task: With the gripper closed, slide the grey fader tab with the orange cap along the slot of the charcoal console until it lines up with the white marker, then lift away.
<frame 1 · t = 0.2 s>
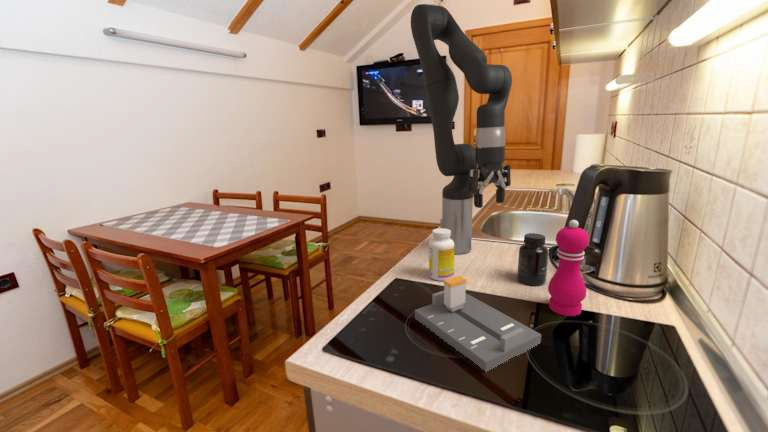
hand: (489, 204, 97), 17 cm above the cooktop, tool pointing down, fingers open, 8 cm apart
supplement bottle: (531, 281, 90), on the cooktop
fader knob: (454, 293, 73), point 6 cm above the cooktop, slide at -5.5 cm
pepper mill: (564, 309, 76), on the cooktop
fader console: (473, 330, 70), on the cooktop
supplement bottle 2: (441, 277, 94), on the cooktop
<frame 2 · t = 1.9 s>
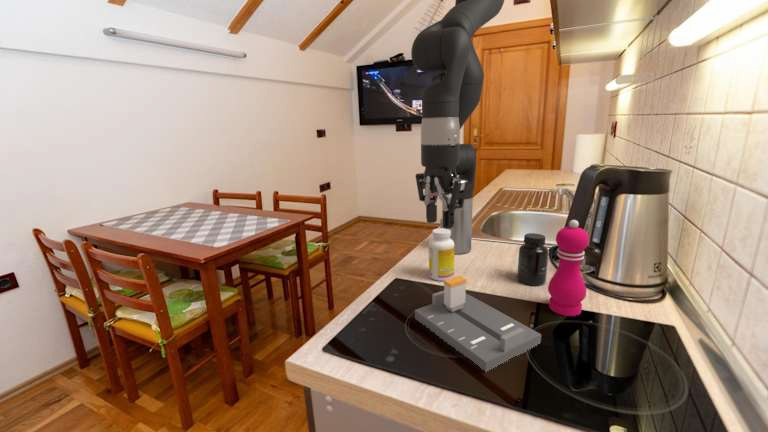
hand: (439, 224, 74), 19 cm above the cooktop, tool pointing down, fingers open, 4 cm apart
nothing on the cooktop moved.
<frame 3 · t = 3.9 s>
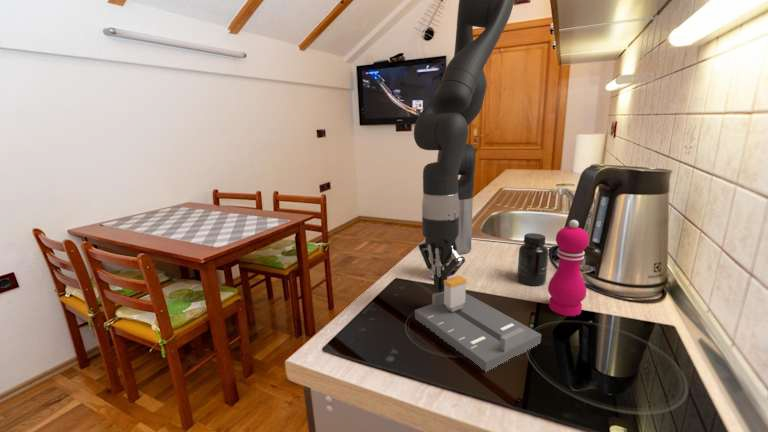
hand: (440, 290, 77), 4 cm above the cooktop, tool pointing down, fingers closed
nothing on the cooktop moved.
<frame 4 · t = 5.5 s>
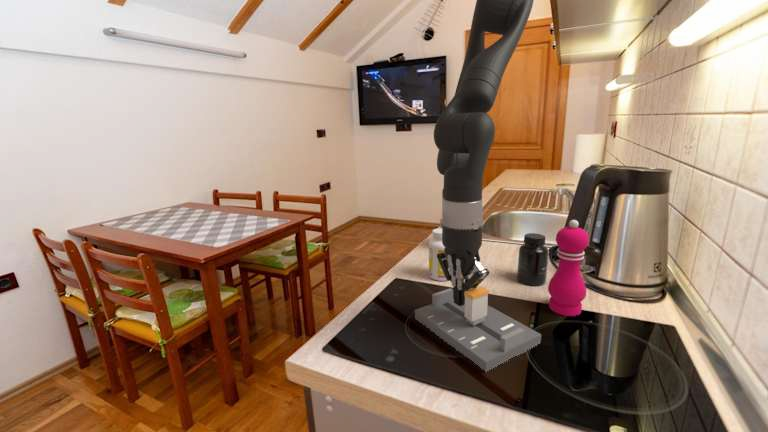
hand: (460, 303, 72), 4 cm above the cooktop, tool pointing down, fingers closed
fader knob: (476, 306, 68), point 6 cm above the cooktop, slide at 0.5 cm, touching gripper
everything else where it was.
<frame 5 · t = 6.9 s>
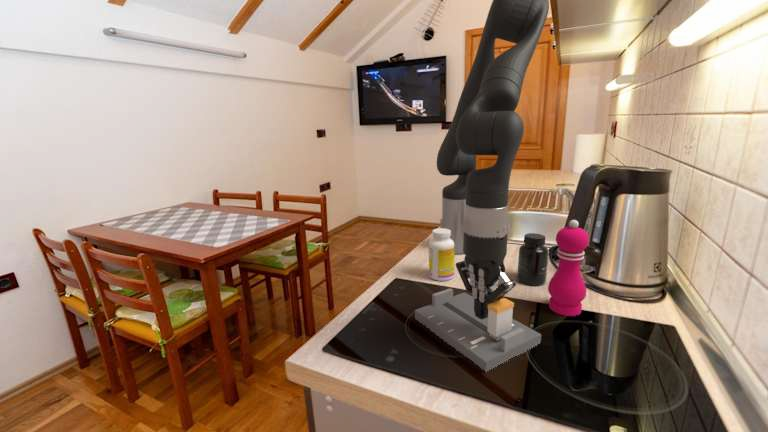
hand: (481, 316, 67), 4 cm above the cooktop, tool pointing down, fingers closed
fader knob: (500, 319, 63), point 6 cm above the cooktop, slide at 6.4 cm, touching gripper, hand
everything else where it was.
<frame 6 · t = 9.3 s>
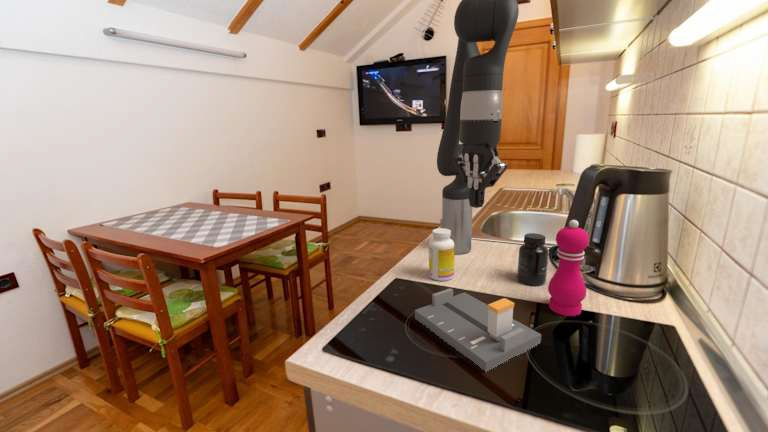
hand: (476, 206, 71), 23 cm above the cooktop, tool pointing down, fingers closed
fader knob: (500, 319, 63), point 6 cm above the cooktop, slide at 6.5 cm
everything else where it was.
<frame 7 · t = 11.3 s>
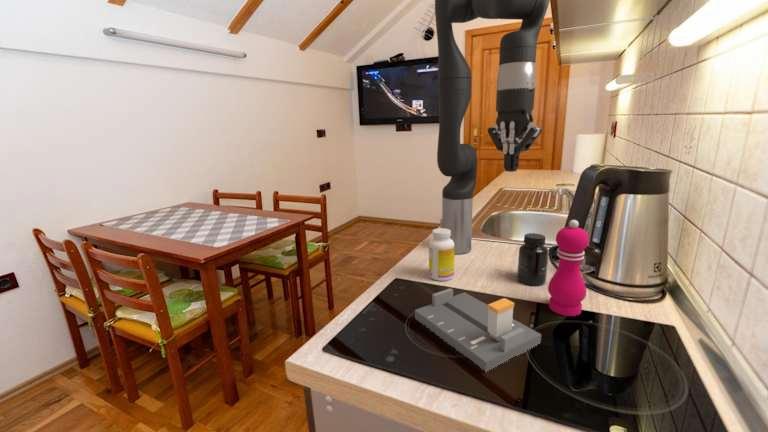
hand: (510, 171, 78), 29 cm above the cooktop, tool pointing down, fingers closed
nothing on the cooktop moved.
at the end: fader knob slide at 6.5 cm; fader knob touching nothing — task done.
